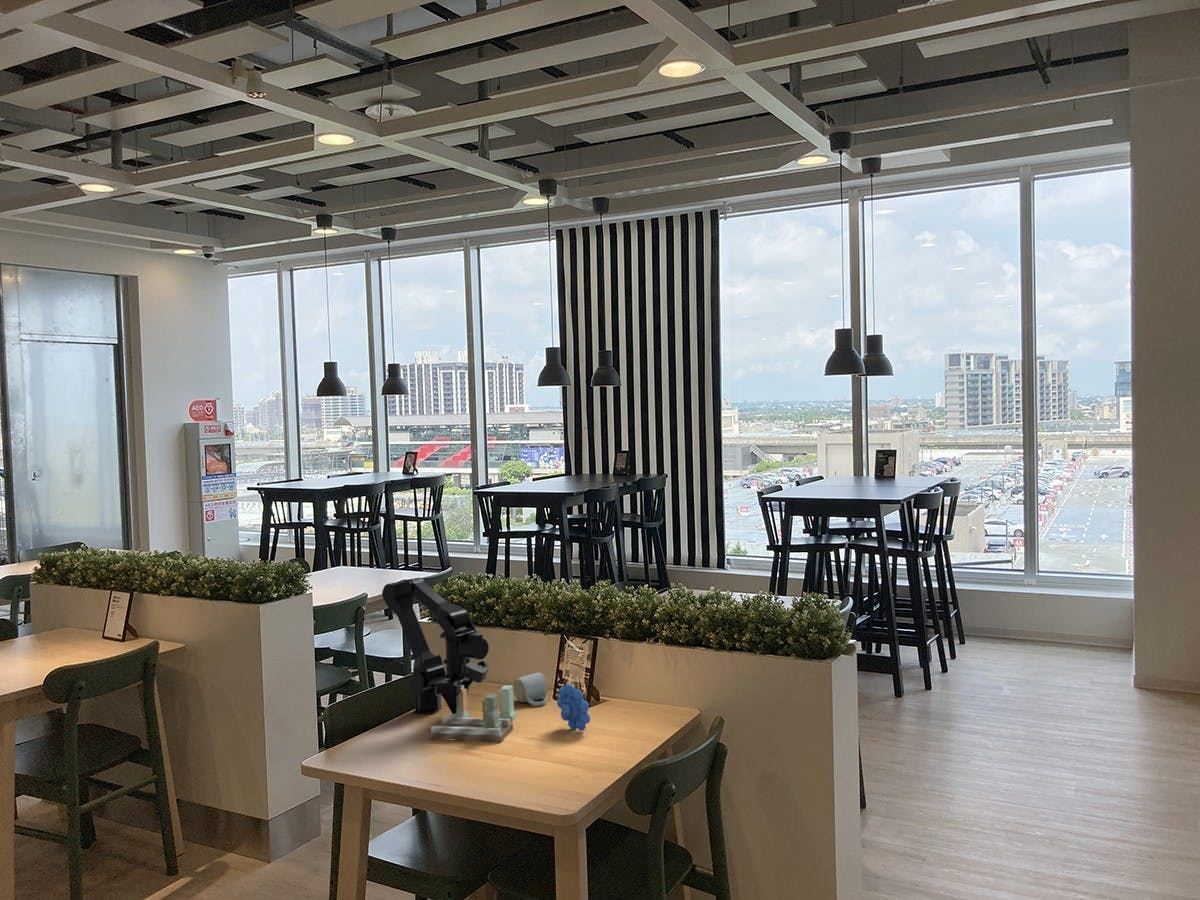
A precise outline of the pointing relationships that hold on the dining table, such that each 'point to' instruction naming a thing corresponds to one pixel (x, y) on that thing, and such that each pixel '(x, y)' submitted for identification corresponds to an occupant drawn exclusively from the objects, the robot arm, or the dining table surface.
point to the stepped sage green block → (461, 704)
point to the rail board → (475, 725)
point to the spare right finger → (506, 703)
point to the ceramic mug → (531, 689)
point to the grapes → (573, 707)
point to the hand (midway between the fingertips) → (458, 709)
